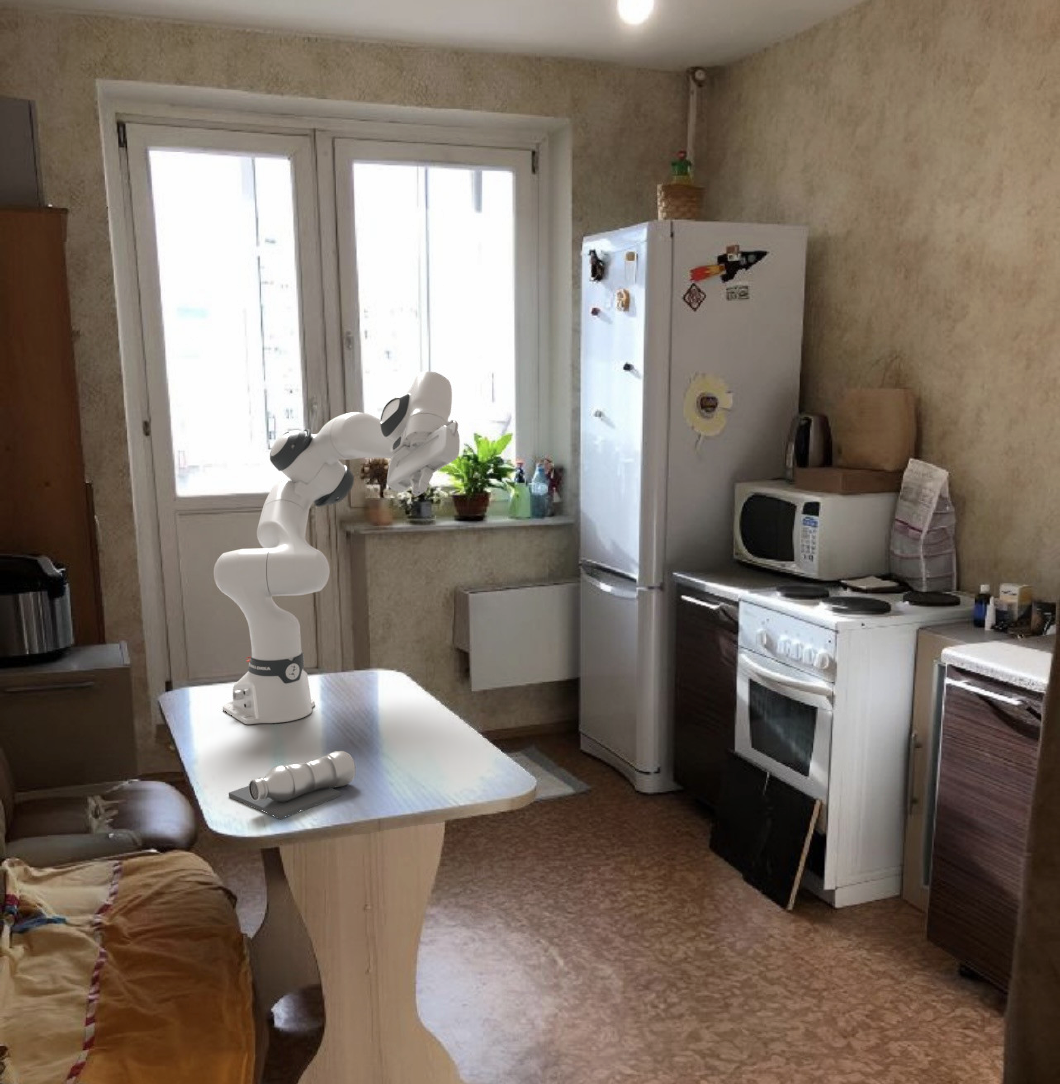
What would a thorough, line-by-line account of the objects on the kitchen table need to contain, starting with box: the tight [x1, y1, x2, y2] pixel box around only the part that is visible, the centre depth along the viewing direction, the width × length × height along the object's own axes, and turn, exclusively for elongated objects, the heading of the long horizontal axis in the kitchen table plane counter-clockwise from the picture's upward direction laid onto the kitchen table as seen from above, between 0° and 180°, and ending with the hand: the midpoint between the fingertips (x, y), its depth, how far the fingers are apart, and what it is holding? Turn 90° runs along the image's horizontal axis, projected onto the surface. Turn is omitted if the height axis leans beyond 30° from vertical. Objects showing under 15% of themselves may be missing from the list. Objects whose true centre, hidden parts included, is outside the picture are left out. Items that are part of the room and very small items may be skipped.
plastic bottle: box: [248, 750, 357, 802], centre depth 178 cm, size 6×7×20 cm
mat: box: [228, 785, 342, 820], centre depth 179 cm, size 16×13×1 cm
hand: (419, 492), depth 199 cm, fingers closed
